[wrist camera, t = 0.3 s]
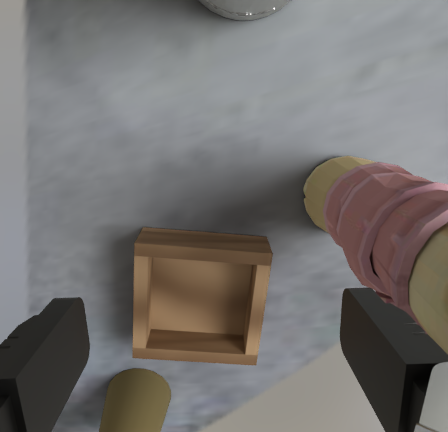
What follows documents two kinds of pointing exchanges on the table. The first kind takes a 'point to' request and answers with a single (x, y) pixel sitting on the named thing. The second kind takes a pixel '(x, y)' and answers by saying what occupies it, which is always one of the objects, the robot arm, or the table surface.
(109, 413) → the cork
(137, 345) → the wooden tray
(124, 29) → the table surface
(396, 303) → the scroll
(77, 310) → the robot arm
